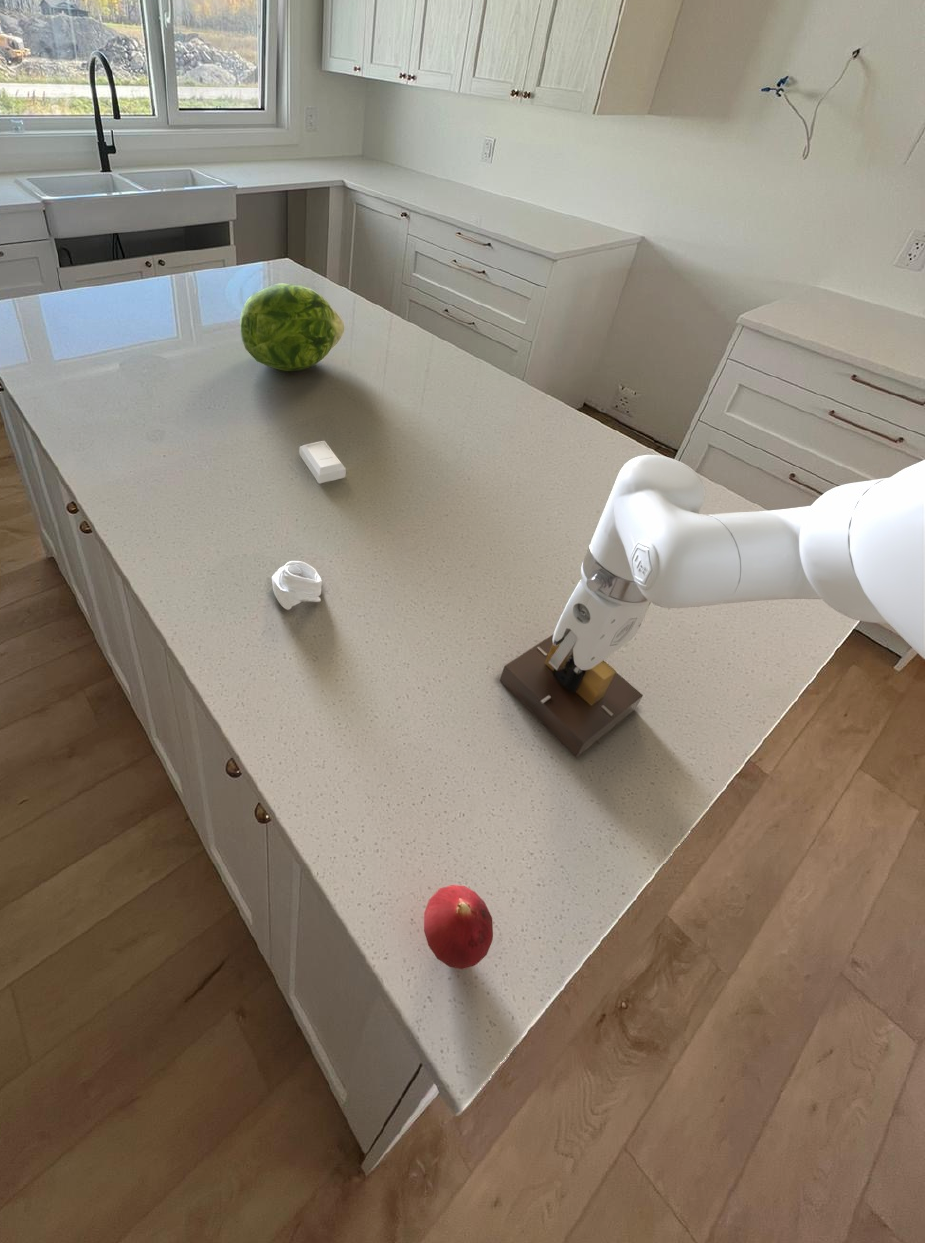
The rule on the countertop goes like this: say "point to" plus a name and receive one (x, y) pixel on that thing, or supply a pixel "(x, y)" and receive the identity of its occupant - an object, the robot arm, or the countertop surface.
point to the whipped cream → (296, 584)
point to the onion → (458, 926)
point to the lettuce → (289, 327)
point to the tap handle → (591, 679)
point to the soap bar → (322, 462)
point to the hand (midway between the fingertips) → (572, 676)
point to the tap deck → (567, 700)
